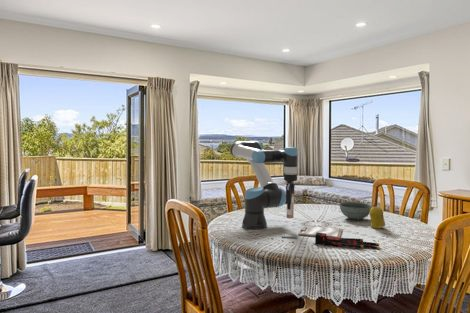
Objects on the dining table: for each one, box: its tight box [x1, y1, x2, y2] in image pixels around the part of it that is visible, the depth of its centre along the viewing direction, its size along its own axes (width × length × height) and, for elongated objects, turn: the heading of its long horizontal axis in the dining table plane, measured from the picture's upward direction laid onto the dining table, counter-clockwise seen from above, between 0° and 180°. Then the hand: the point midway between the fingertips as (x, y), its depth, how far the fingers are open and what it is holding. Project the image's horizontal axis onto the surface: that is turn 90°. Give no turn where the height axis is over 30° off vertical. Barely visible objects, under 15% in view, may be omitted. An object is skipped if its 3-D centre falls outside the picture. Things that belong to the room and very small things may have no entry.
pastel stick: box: [286, 193, 295, 219], centre depth 198 cm, size 4×4×14 cm
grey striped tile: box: [281, 233, 298, 239], centre depth 187 cm, size 8×6×1 cm
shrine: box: [368, 204, 386, 230], centre depth 202 cm, size 12×8×15 cm
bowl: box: [338, 201, 373, 222], centre depth 227 cm, size 21×21×10 cm
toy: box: [314, 232, 380, 250], centre depth 170 cm, size 8×5×30 cm
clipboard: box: [297, 225, 343, 238], centre depth 194 cm, size 22×20×2 cm
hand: (290, 213), depth 198 cm, fingers closed on pastel stick, 4 cm apart
